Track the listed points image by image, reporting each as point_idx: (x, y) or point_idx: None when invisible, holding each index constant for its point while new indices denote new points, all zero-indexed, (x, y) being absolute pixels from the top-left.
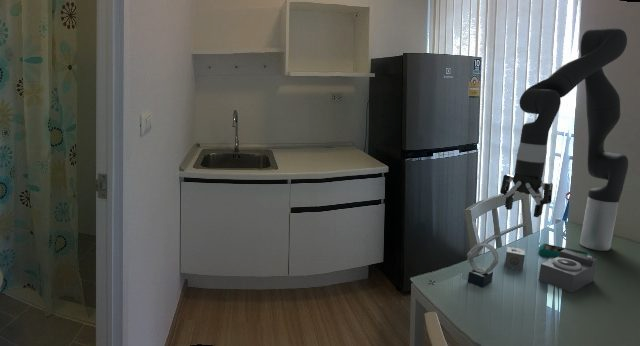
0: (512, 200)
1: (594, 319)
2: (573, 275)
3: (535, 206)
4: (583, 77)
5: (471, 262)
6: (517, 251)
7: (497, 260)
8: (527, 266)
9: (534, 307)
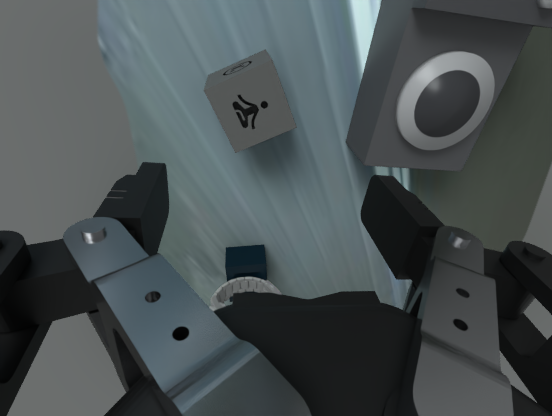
0: (149, 211)
1: (469, 230)
2: (457, 170)
3: (392, 268)
4: None
5: (219, 298)
6: (260, 112)
7: None
8: (283, 48)
9: (369, 270)
